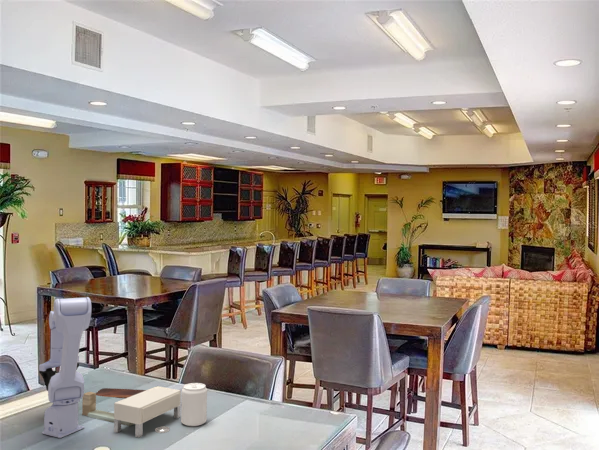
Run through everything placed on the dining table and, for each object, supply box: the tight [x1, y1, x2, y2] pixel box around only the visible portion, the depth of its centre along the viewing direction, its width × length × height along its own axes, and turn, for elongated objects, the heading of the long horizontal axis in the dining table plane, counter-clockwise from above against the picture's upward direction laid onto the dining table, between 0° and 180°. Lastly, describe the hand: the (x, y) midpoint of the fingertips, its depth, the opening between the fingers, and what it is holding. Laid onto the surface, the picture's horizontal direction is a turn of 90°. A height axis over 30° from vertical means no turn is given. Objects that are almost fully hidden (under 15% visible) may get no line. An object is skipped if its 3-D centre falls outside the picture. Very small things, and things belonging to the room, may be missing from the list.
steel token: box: [154, 425, 171, 434], centre depth 173 cm, size 4×4×1 cm
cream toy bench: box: [113, 385, 182, 439], centre depth 178 cm, size 20×10×9 cm, turn 155°
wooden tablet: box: [95, 387, 147, 399], centre depth 209 cm, size 26×2×10 cm
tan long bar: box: [81, 391, 135, 427], centre depth 183 cm, size 4×21×7 cm, turn 65°
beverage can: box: [180, 382, 208, 427], centre depth 180 cm, size 8×8×12 cm
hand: (59, 387), depth 184 cm, fingers open, 7 cm apart
